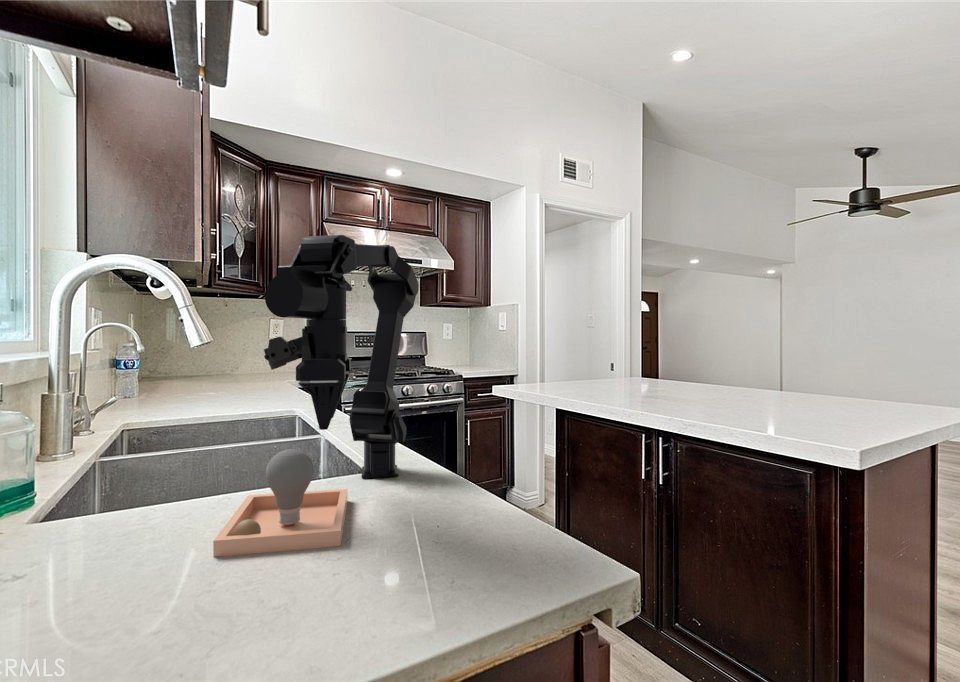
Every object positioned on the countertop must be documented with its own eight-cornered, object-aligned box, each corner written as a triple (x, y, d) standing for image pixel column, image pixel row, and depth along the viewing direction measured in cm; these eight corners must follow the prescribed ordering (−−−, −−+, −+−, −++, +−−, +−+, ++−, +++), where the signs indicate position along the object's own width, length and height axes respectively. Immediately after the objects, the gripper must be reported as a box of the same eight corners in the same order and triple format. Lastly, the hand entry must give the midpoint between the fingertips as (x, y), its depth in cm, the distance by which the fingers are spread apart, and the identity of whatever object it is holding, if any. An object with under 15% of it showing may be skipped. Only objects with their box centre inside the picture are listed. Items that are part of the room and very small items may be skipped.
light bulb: (273, 537, 61) (273, 457, 61) (259, 522, 66) (260, 448, 66) (320, 525, 65) (321, 451, 65) (303, 512, 70) (304, 442, 69)
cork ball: (237, 540, 60) (237, 516, 60) (263, 538, 61) (263, 514, 61) (230, 551, 57) (230, 525, 57) (257, 549, 58) (257, 523, 58)
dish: (248, 511, 72) (248, 495, 72) (347, 504, 75) (347, 488, 75) (213, 561, 56) (213, 540, 56) (340, 550, 59) (340, 530, 59)
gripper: (280, 320, 81) (281, 415, 81) (253, 317, 63) (254, 439, 63) (350, 321, 83) (350, 412, 83) (344, 318, 65) (344, 435, 65)
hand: (326, 423), depth 74 cm, fingers open, 9 cm apart
